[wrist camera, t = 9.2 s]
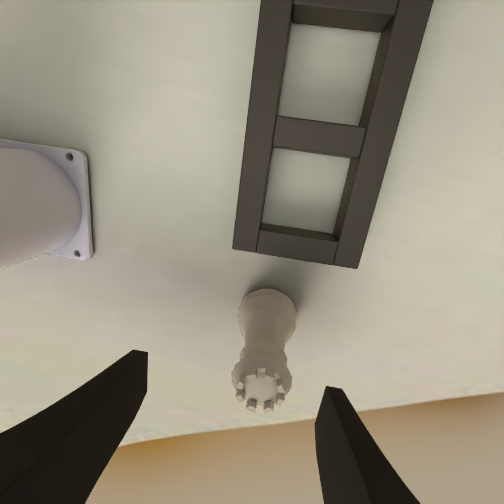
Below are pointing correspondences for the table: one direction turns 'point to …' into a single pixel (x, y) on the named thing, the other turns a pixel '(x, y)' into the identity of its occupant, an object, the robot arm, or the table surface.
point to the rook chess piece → (264, 349)
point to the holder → (326, 124)
